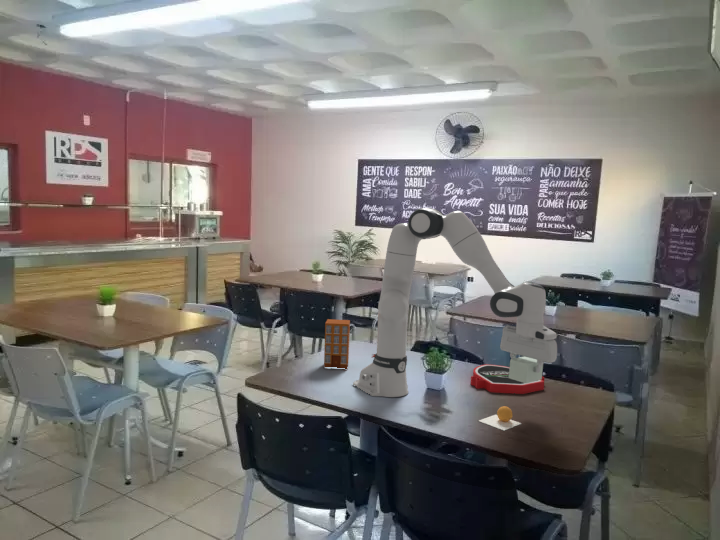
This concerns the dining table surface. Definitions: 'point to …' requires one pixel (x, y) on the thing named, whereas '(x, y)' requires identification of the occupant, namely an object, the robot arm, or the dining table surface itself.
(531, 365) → the pale green rectangular prism
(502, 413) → the ball
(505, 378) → the emblem
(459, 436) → the dining table surface
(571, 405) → the dining table surface
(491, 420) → the mark
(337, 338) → the miniature building
